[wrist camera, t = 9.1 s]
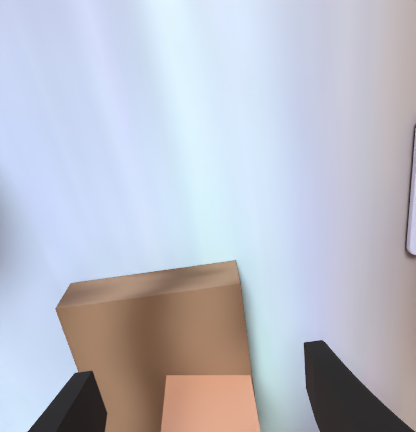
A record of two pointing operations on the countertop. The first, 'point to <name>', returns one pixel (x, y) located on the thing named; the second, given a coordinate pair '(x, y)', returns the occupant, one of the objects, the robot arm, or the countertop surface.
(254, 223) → the countertop surface
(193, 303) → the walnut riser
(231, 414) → the terracotta cube
